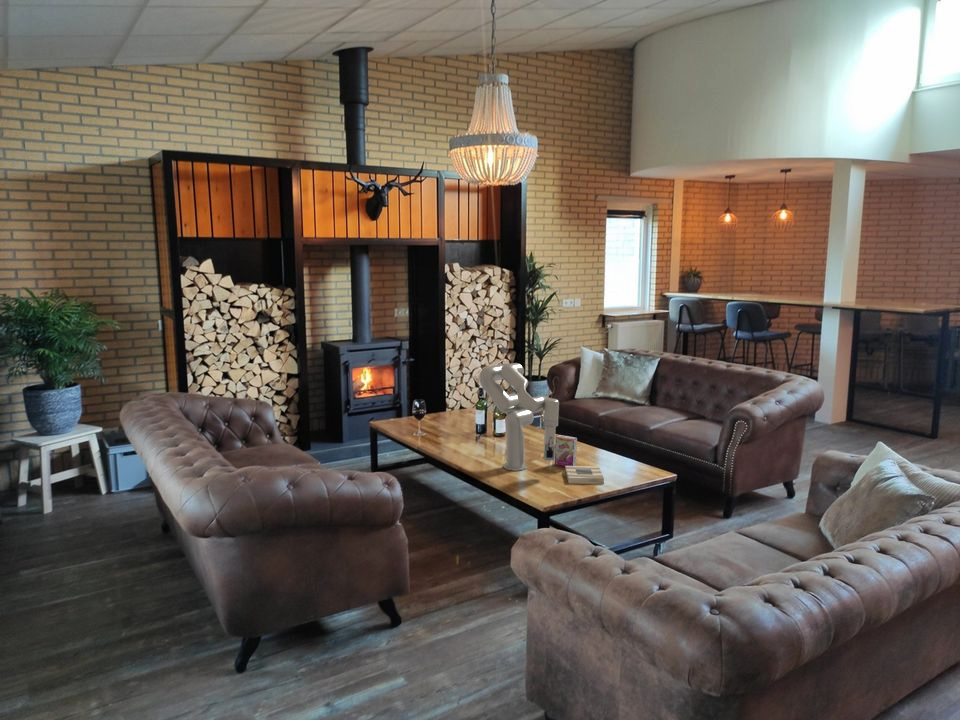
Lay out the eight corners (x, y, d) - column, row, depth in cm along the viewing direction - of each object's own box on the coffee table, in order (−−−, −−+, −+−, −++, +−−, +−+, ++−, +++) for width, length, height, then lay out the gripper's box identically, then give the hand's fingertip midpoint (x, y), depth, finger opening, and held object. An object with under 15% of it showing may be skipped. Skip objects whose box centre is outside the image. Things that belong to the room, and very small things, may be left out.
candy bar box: (554, 465, 396) (555, 436, 393) (558, 462, 400) (558, 434, 397) (572, 468, 390) (573, 439, 387) (576, 466, 394) (577, 437, 392)
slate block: (544, 456, 377) (544, 442, 375) (553, 457, 377) (554, 442, 375) (544, 459, 372) (545, 445, 371) (554, 460, 372) (554, 445, 370)
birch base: (565, 471, 385) (565, 465, 385) (598, 471, 385) (598, 466, 384) (568, 483, 365) (568, 477, 365) (603, 483, 365) (604, 477, 364)
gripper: (542, 417, 379) (541, 450, 383) (544, 426, 363) (542, 460, 366) (556, 418, 379) (555, 451, 382) (559, 427, 362) (557, 461, 366)
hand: (549, 455), depth 374 cm, fingers closed on slate block, 5 cm apart
